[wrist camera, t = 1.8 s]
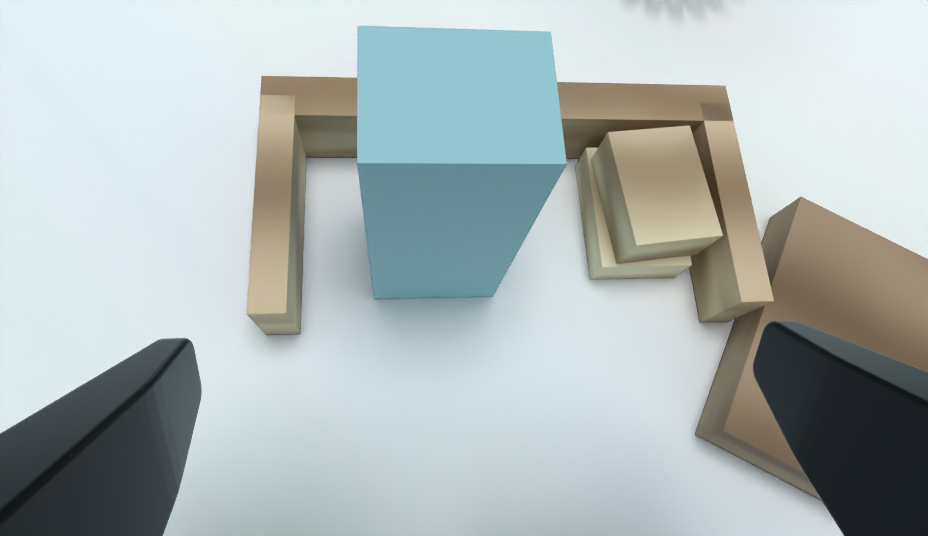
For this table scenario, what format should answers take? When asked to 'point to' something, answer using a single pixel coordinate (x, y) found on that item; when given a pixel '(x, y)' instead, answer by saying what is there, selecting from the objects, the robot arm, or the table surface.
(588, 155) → the offcut low
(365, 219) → the teal block
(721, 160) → the frame
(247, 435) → the table surface
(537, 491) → the table surface
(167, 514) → the robot arm
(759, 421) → the base block
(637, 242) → the offcut top
